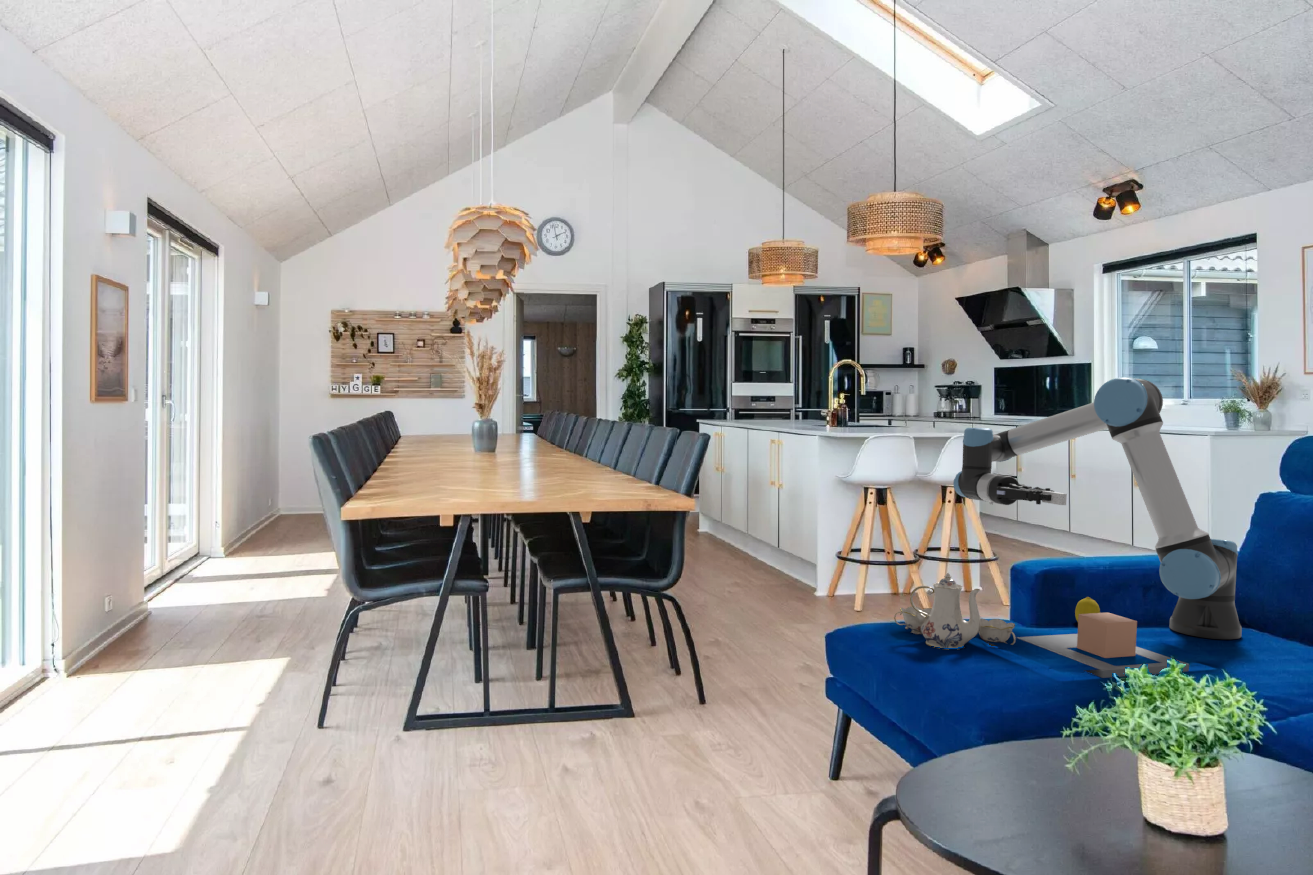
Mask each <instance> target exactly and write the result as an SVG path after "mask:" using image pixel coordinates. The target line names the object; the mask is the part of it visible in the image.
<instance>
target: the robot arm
mask: <svg viewBox="0 0 1313 875" xmlns="http://www.w3.org/2000/svg"><path fill="white" fill-rule="evenodd" d="M1163 399H1164V398H1163V394H1162V392H1161V390H1160V389H1159V388H1158V386H1157V385H1156V384H1154V383H1153V382H1151V381H1149V380H1146V379H1142V378H1134V377H1130V376H1120V377H1116V378H1113V379H1110V380H1107V381H1106V382H1105V383H1103V384H1101V385H1100V387H1099V388H1098V389H1097V391H1096V394H1095V396H1094V398H1093V402H1090V403H1088V404H1085V405H1082V406H1079V407H1075V408H1073V409H1069V410H1065V411H1063V412H1060V413H1057V414H1053V415H1050V416H1048V417H1044V418H1041V419H1038V420H1036V421H1032V422H1029V423H1026V424H1024V425H1020V426H1016V427H1014V428H1011V429H1007V430H1005V431H1002V432H998V433H995V434H994V431H993V429H991V428H988V427H966V428H965V429H964V431H963V439H962V467H961V471H959V472H958V473H957V474H956V475H955V477H954V479H953V484H952V486H953V489H954V491H955V492H956V494H957V495H959V496H960V497H962V498H966V499H968V500H975V501H982V502H989V505H991V506H992V505H994V504H998V505H1003V506H1009V505H1013V504H1014V503H1016V501H1026V502H1035V504H1036V505H1041V504H1042V503H1045V504H1052V505H1057V506H1067V499H1068V498H1067V494H1068V493H1064V492H1058V491H1055V490H1051V488H1050V487H1049V488H1047V487H1046V488H1041V487H1039V486H1036V487H1032V486H1030V485H1025V484H1022V483H1019V481H1018V480H1017V478H1015V477H1013V476H1010V475H1004V474H999V473H998V474H997V473H992V468H993V467H992V465H993V464H992V463H993V462H1000V463H1001V462H1006V461H1009V460H1011V459H1013V458H1014V457H1018V456H1020V455H1024V454H1027V453H1032V452H1034V451H1037V450H1040V449H1044V448H1048V447H1050V446H1054V445H1057V444H1060V443H1064V442H1067V441H1071V440H1074V439H1077V438H1080V437H1083V436H1087V435H1090V434H1094V433H1098V432H1100V431H1101V432H1102V431H1104V430H1106V429H1108V432H1109V434H1110V436H1111V439H1112V441H1115V442H1117V443H1120V445H1121V446H1122V449H1123V452H1124V453H1125V456H1126V460H1127V461H1128V464H1129V466H1130V469H1131V471H1132V474H1133V477H1134V479H1135V482H1136V483H1137V484H1136V485H1137V487H1138V490H1139V491H1140V494H1141V498H1142V500H1143V502H1144V505H1145V507H1146V510H1147V511H1148V515H1149V517H1150V520H1151V522H1152V524H1153V526H1154V530H1155V533H1156V535H1157V537H1158V540H1157V543H1156V544H1155V546H1154V549H1155V551H1156V553H1157V556H1158V559H1159V562H1160V564H1159V570H1158V572H1159V577H1160V581H1161V582H1162V585H1163V586H1164V587H1165V589H1167V590H1168V591H1169V592H1170V593H1171V594H1173V595H1175V596H1177V597H1178V599H1177V602H1176V605H1175V606H1174V609H1173V612H1172V615H1171V616H1170V618H1169V626H1168V627H1169V629H1170V630H1172V631H1174V632H1176V633H1180V634H1183V635H1188V636H1193V637H1197V638H1204V639H1210V640H1211V639H1212V640H1237V639H1240V638H1242V632H1243V628H1242V625H1241V623H1240V621H1239V616H1238V612H1237V608H1236V603H1235V600H1236V586H1237V585H1236V582H1237V566H1238V565H1237V563H1238V557H1239V552H1238V545H1237V543H1236V542H1235V541H1233V540H1232V541H1231V540H1226V539H1225V540H1224V539H1216V538H1211V537H1210V534H1209V533H1208V532H1206V531H1204V530H1202V529H1200V528H1199V526H1198V524H1197V522H1196V519H1195V517H1194V514H1193V511H1192V509H1191V507H1190V504H1189V502H1188V499H1187V497H1186V494H1185V491H1184V490H1183V487H1182V485H1181V482H1180V480H1179V477H1178V474H1177V473H1176V470H1175V468H1174V465H1173V463H1172V460H1171V457H1170V455H1169V453H1168V450H1167V448H1166V445H1165V442H1164V439H1163V438H1162V436H1161V433H1160V431H1161V428H1162V426H1163V424H1164V421H1163V419H1162V417H1161V411H1162V408H1163V404H1164V400H1163Z"/></svg>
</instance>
